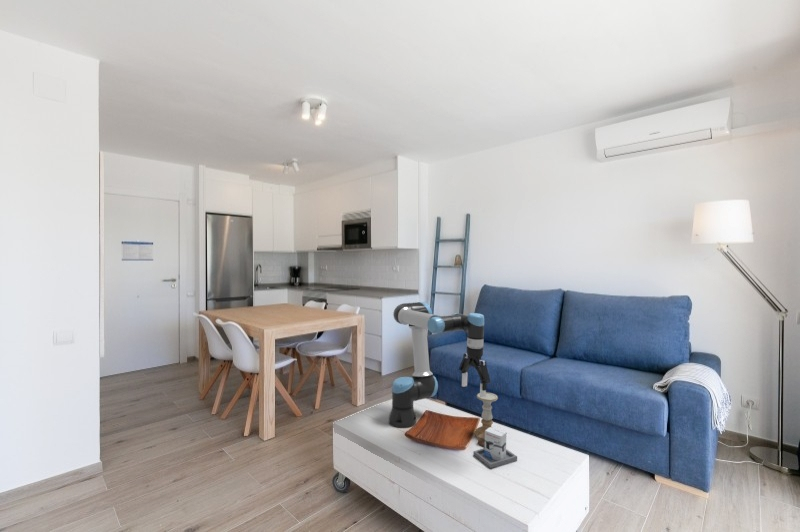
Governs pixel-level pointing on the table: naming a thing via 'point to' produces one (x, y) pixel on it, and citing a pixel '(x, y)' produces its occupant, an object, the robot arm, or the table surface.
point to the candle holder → (486, 412)
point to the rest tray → (491, 462)
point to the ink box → (495, 444)
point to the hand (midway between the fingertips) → (473, 391)
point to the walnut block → (481, 440)
